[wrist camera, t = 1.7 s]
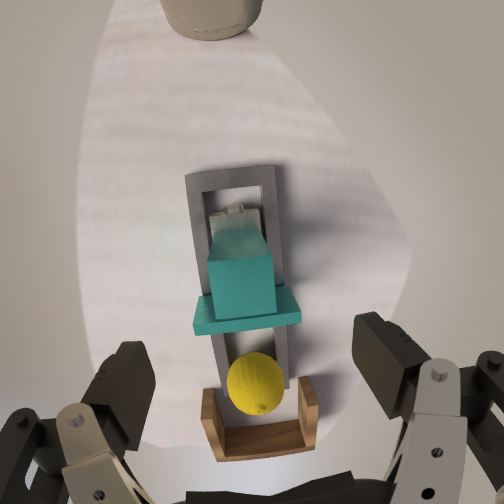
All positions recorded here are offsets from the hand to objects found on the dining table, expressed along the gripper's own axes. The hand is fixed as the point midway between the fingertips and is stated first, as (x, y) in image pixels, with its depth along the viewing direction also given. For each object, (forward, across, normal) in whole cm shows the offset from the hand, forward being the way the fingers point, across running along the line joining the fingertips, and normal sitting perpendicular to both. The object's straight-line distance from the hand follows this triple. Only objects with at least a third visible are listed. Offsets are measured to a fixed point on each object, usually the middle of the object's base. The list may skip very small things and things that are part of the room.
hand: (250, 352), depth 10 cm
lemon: (+17, 0, +13) cm, 21 cm away
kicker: (+16, 0, 0) cm, 16 cm away
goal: (+17, 0, +21) cm, 27 cm away
